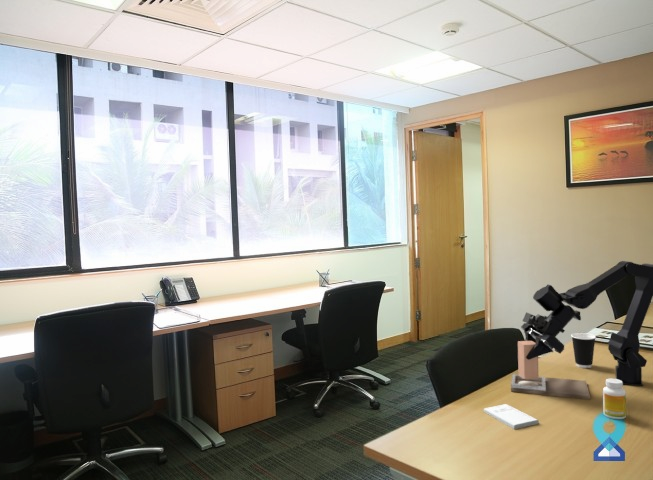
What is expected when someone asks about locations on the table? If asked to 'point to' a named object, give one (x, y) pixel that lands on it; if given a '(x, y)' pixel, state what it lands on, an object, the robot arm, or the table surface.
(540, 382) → the board
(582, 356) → the dixie cup
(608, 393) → the supplement bottle
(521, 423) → the external hard drive
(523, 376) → the terracotta pin
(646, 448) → the table surface
